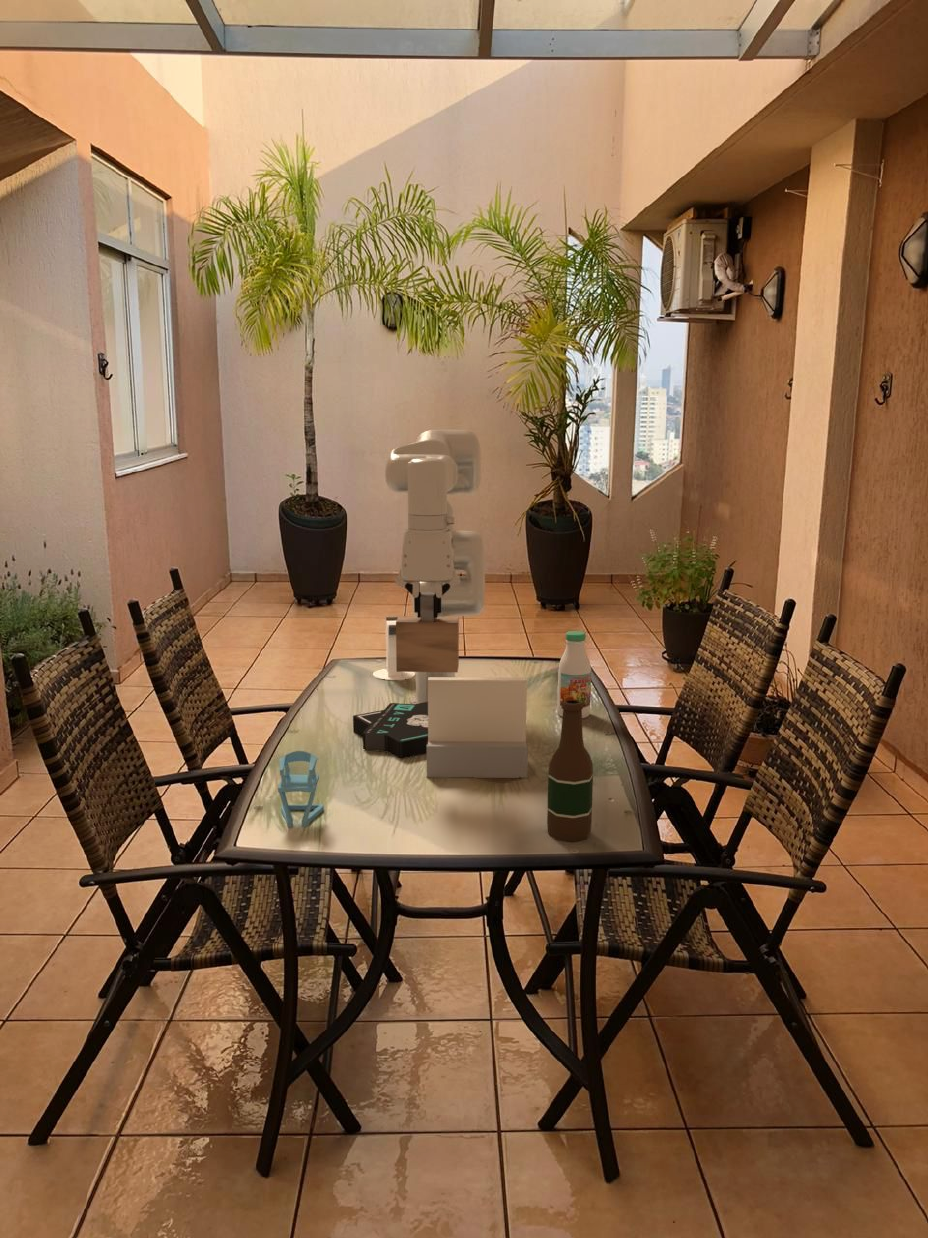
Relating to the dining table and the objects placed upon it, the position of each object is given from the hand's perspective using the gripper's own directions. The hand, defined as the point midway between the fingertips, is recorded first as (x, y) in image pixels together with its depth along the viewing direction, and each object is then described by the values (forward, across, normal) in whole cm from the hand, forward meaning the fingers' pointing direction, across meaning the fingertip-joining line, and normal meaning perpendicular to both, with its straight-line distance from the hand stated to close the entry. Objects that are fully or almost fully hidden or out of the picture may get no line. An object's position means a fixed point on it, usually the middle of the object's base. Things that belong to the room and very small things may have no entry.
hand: (427, 615), depth 209 cm
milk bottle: (+32, -32, -38) cm, 59 cm away
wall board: (+32, -10, -1) cm, 34 cm away
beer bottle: (+32, -27, +30) cm, 51 cm away
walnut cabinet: (+11, 0, 0) cm, 11 cm away
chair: (+32, +22, +25) cm, 46 cm away
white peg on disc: (+33, +14, -71) cm, 79 cm away
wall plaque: (+33, +4, -21) cm, 39 cm away
